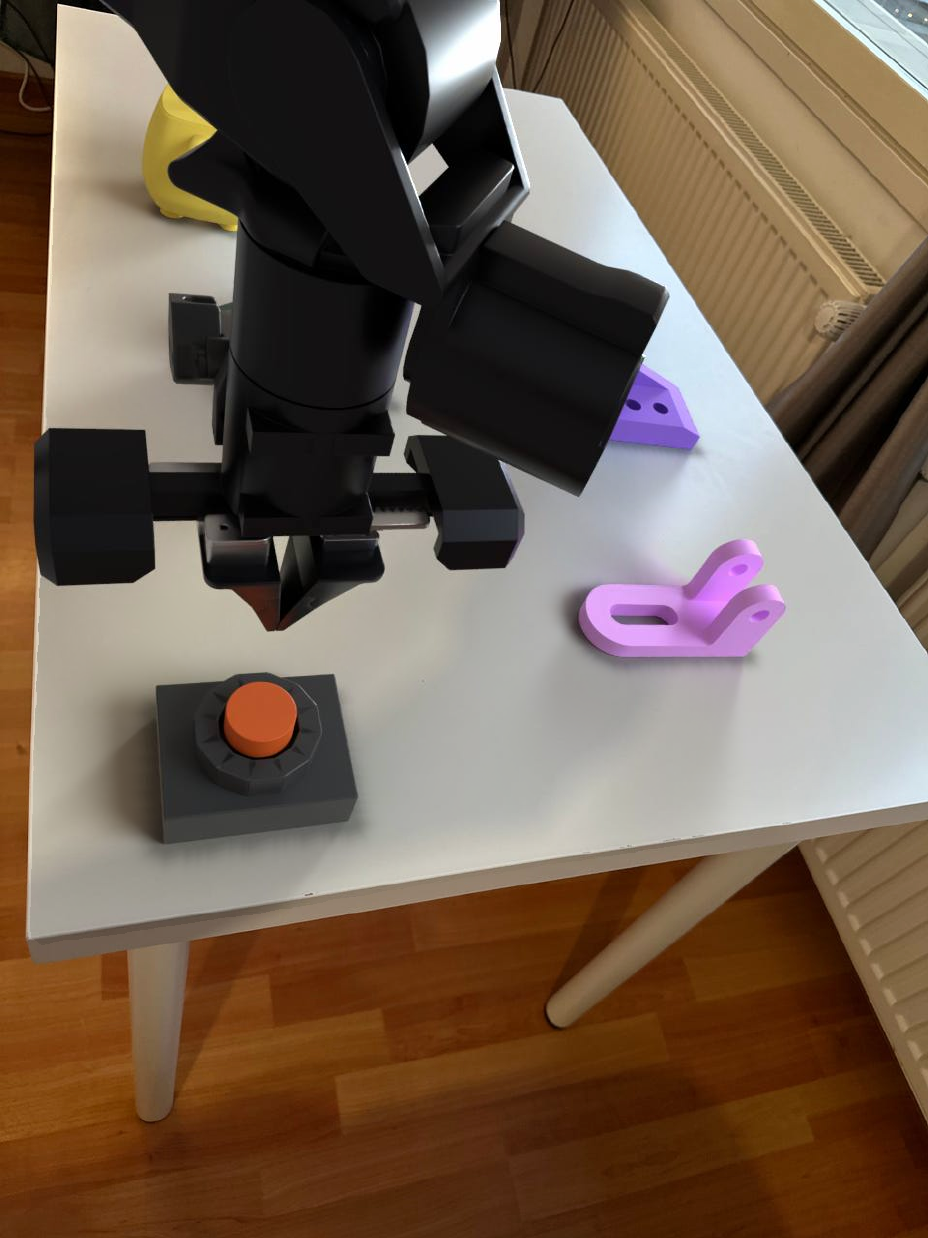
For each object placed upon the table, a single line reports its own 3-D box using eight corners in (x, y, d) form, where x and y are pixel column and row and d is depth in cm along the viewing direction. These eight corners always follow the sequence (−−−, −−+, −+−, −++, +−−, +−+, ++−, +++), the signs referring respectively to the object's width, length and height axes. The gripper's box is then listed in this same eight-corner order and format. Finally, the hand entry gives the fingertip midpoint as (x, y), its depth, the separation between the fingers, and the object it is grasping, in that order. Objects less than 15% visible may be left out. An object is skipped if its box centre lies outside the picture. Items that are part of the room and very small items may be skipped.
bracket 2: (719, 598, 69) (765, 540, 64) (744, 656, 66) (795, 600, 61) (570, 594, 65) (606, 532, 60) (590, 657, 62) (630, 597, 57)
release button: (227, 761, 45) (229, 744, 44) (220, 701, 47) (222, 683, 46) (297, 754, 46) (301, 738, 45) (288, 696, 48) (291, 679, 47)
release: (163, 845, 46) (164, 804, 42) (155, 714, 51) (155, 666, 47) (349, 821, 50) (364, 782, 46) (326, 701, 54) (339, 656, 50)
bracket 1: (572, 435, 77) (602, 372, 72) (556, 384, 81) (584, 321, 75) (692, 449, 80) (729, 390, 75) (671, 399, 84) (705, 340, 79)
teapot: (161, 140, 87) (161, 21, 79) (273, 168, 90) (284, 55, 82) (127, 237, 77) (123, 110, 68) (256, 265, 79) (267, 146, 71)
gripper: (500, 244, 38) (420, 498, 49) (15, 193, 31) (57, 501, 43) (586, 421, 32) (471, 662, 44) (8, 406, 25) (59, 695, 37)
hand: (273, 623), depth 42 cm, fingers closed
